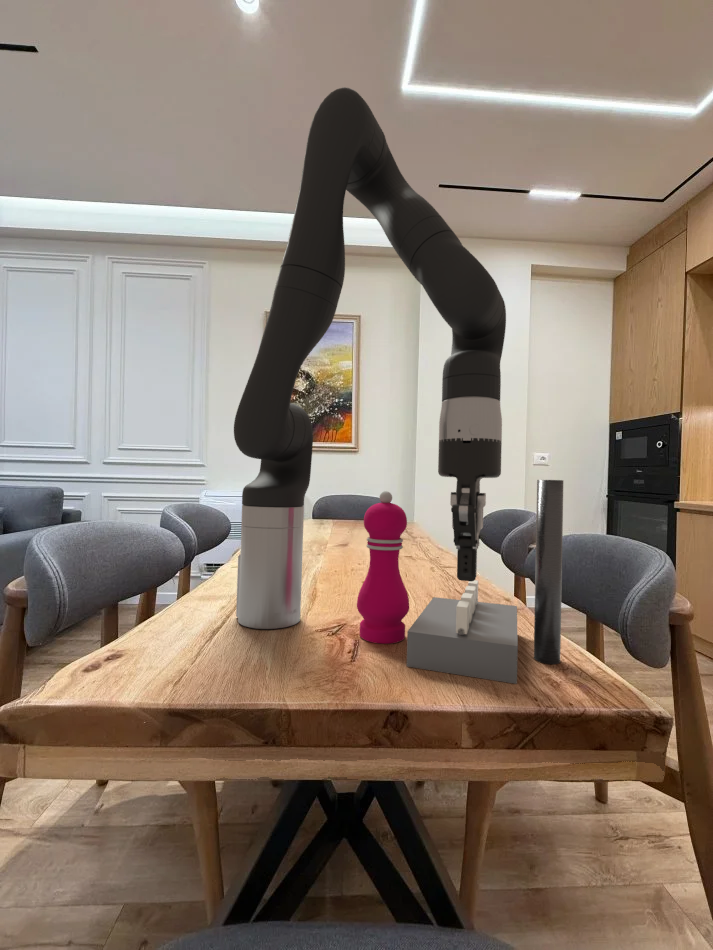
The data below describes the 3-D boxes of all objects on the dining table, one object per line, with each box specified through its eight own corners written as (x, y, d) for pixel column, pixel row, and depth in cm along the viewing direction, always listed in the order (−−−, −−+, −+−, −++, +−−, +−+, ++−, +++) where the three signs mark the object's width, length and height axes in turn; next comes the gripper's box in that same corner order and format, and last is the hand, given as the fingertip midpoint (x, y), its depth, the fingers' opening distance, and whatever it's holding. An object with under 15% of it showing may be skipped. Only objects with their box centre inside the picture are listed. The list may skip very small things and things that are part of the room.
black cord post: (529, 658, 56) (532, 479, 57) (540, 653, 58) (543, 480, 59) (554, 666, 54) (557, 479, 55) (564, 660, 56) (567, 480, 57)
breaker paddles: (455, 634, 52) (456, 606, 52) (469, 601, 67) (469, 579, 67) (466, 636, 51) (467, 607, 52) (477, 602, 67) (478, 580, 67)
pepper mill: (405, 647, 59) (409, 492, 59) (351, 642, 60) (355, 490, 61) (410, 630, 66) (414, 491, 66) (361, 626, 67) (365, 490, 68)
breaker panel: (406, 666, 53) (407, 631, 53) (432, 623, 70) (433, 597, 70) (516, 683, 49) (517, 646, 49) (516, 633, 66) (516, 606, 66)
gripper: (446, 444, 64) (443, 568, 64) (430, 432, 51) (426, 587, 51) (502, 443, 62) (500, 573, 61) (500, 432, 49) (497, 594, 49)
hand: (466, 579), depth 56 cm, fingers closed
